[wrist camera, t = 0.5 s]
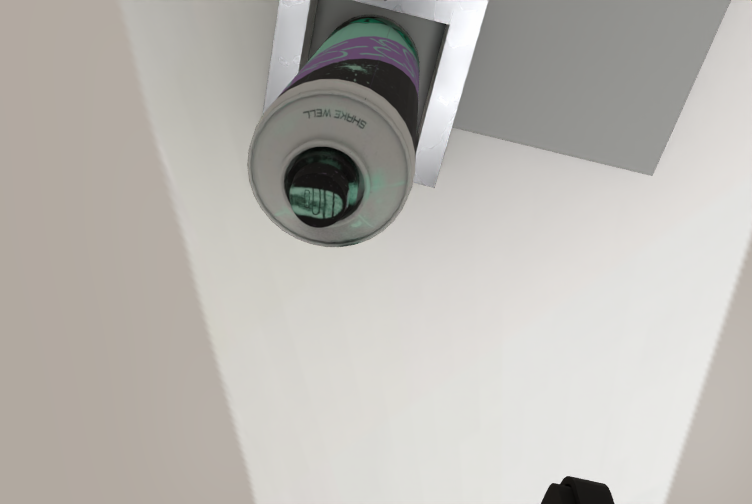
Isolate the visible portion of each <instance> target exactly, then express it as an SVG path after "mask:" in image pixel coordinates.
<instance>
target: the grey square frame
mask: <svg viewBox="0 0 752 504" xmlns="http://www.w3.org/2000/svg"><path fill="white" fill-rule="evenodd" d="M353 1H357V2H361V3H365V4H369V5H373V6H377V7H381V8H385V9H389V10H393V11H397V12H401V13H405V14H409V15H413V16H417V17H421V18H425V19H429V20H433V21H437V22H441V23H445V24H446V27H445V31H444V35H443V39H442V42H441V46H440V50H439V54H438V58H437V61H436V65H435V69H434V73H433V76H432V80H431V84H430V88H429V92H428V95H427V99H426V103H425V107H424V111H423V114H422V118H421V122H420V126H419V130H418V133H417V137H416V161H415V175H414V179H413V183H417V184H421V185H425V186H429V187H434V188H435V184H436V181H437V177H438V174H439V170H440V167H441V163H442V160H443V157H444V153H445V150H446V146H447V143H448V139H449V136H450V132H451V129H452V125H453V122H454V118H455V115H456V111H457V108H458V104H459V101H460V97H461V94H462V90H463V87H464V83H465V80H466V76H467V73H468V69H469V66H470V63H471V59H472V56H473V52H474V49H475V45H476V42H477V38H478V35H479V31H480V28H481V24H482V21H483V17H484V14H485V10H486V7H487V3H488V0H353ZM317 4H318V0H280V1H279V7H278V14H277V21H276V28H275V34H274V41H273V48H272V55H271V61H270V68H269V75H268V82H267V88H266V95H265V102H264V109H263V114H264V112H265V111H266V110H267V109H268V108H269V107H270V105H271V104H272V103H273V102H274V101H275V100H276V98H277V97H278V96H279V95H280V94H281V93H282V91H283V90H284V89H285V88H286V87H287V86H288V84H289V83H290V82H291V81H292V80H293V79H294V77H295V76H296V75H297V74H298V73H299V71H300V70H301V69H302V68H303V67H304V66H305V64H306V63H307V62H308V56H309V50H310V44H311V39H312V33H313V27H314V21H315V16H316V10H317Z"/></svg>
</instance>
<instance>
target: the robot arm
mask: <svg viewBox="0 0 752 504" xmlns="http://www.w3.org/2000/svg"><path fill="white" fill-rule="evenodd" d="M541 504H614V501H613V498H612V495H611V492H610V490H609V488H608V487H607V486H606V485H605V484H603V483H598V482H593V481H589V480H584V479H579V478H575V477H570V476H567V477H565V478H564V479H563V481H562V482H561V484H555V483H552V484H551V485H550V486H549V488H548V490H547V492H546V494H545V496H544V498H543V500H542V502H541Z"/></svg>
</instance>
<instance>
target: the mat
mask: <svg viewBox="0 0 752 504" xmlns="http://www.w3.org/2000/svg"><path fill="white" fill-rule="evenodd" d="M730 2H731V0H488V3H487V7H486V10H485V14H484V17H483V21H482V24H481V28H480V31H479V35H478V38H477V42H476V45H475V49H474V52H473V56H472V59H471V63H470V66H469V69H468V73H467V76H466V80H465V83H464V87H463V90H462V94H461V97H460V101H459V104H458V108H457V111H456V115H455V118H454V122H453V125H452V127H453V128H457V129H461V130H465V131H469V132H473V133H478V134H482V135H486V136H490V137H494V138H498V139H502V140H506V141H510V142H515V143H519V144H523V145H527V146H531V147H535V148H539V149H543V150H548V151H552V152H556V153H560V154H564V155H568V156H572V157H576V158H580V159H585V160H589V161H593V162H597V163H601V164H605V165H609V166H613V167H618V168H622V169H626V170H630V171H634V172H638V173H642V174H646V175H651V176H652V175H653V173H654V171H655V169H656V167H657V164H658V162H659V160H660V158H661V155H662V153H663V151H664V149H665V146H666V144H667V142H668V140H669V138H670V135H671V133H672V131H673V129H674V126H675V124H676V122H677V120H678V117H679V115H680V113H681V111H682V109H683V106H684V104H685V102H686V100H687V97H688V95H689V93H690V91H691V89H692V86H693V84H694V82H695V80H696V77H697V75H698V73H699V71H700V68H701V66H702V64H703V62H704V60H705V57H706V55H707V53H708V51H709V48H710V46H711V44H712V42H713V39H714V37H715V35H716V33H717V31H718V28H719V26H720V24H721V22H722V19H723V17H724V15H725V13H726V10H727V8H728V6H729V4H730Z"/></svg>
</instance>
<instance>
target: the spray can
mask: <svg viewBox="0 0 752 504" xmlns="http://www.w3.org/2000/svg"><path fill="white" fill-rule="evenodd" d="M418 91H419V58H418V53H417V50H416V47H415V45H414V42H413V41H412V39H411V38H410V36H409V34H408V33H407V32H406V31H405V30H404V29H403V28H402V27H401V26H400V25H398V24H397V23H395V22H394V21H392V20H389V19H387V18H385V17H381V16H375V15H364V16H359V17H355V18H353V19H351V20H348V21H346V22H344V23H343V24H342V25H340V26H339V27H338V28H336V30H335V31H334V32H333V33H332V34H331V35H330V36H329V38H328V39H327V40H326V41H325V42H324V43H323V45H322V46H321V47H320V48H319V49H318V50H317V52H316V53H315V54H314V55H313V56H312V57H311V59H310V60H309V61H308V62H307V63H306V64H305V66H304V67H303V68H302V69H301V70H300V71H299V73H298V74H297V75H296V76H295V77H294V79H293V80H292V81H291V82H290V83H289V84H288V86H287V87H286V88H285V89H284V90H283V91H282V93H281V94H280V95H279V96H278V97H277V98H276V100H275V101H274V102H273V103H272V104H271V105H270V107H269V108H268V109H267V110H266V111H265V112H264V114H263V115H262V117H261V119H260V121H259V123H258V124H257V126H256V129H255V132H254V135H253V138H252V141H251V145H250V148H249V153H248V165H247V166H248V174H249V182H250V185H251V188H252V191H253V194H254V196H255V198H256V200H257V202H258V203H259V205H260V207H261V209H262V210H263V211H264V213H265V214H266V215H267V216H268V217H269V219H270V220H271V221H272V222H273V223H274V224H276V225H277V226H278V227H279V228H280V229H282V230H283V231H284V232H286V233H288V234H289V235H291V236H293V237H295V238H296V239H299V240H302V241H304V242H307V243H310V244H314V245H319V246H325V247H343V246H349V245H355V244H358V243H361V242H363V241H366V240H369V239H371V238H373V237H374V236H376V235H377V234H379V233H381V232H382V231H384V230H385V229H386V228H387V227H388V226H389V225H390V224H391V223H392V222H393V221H394V220H395V218H396V217H397V216H398V214H399V213H400V212H401V210H402V208H403V206H404V204H405V202H406V200H407V197H408V195H409V193H410V191H411V188H412V184H413V179H414V175H415V161H416V137H417V114H418Z"/></svg>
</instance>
